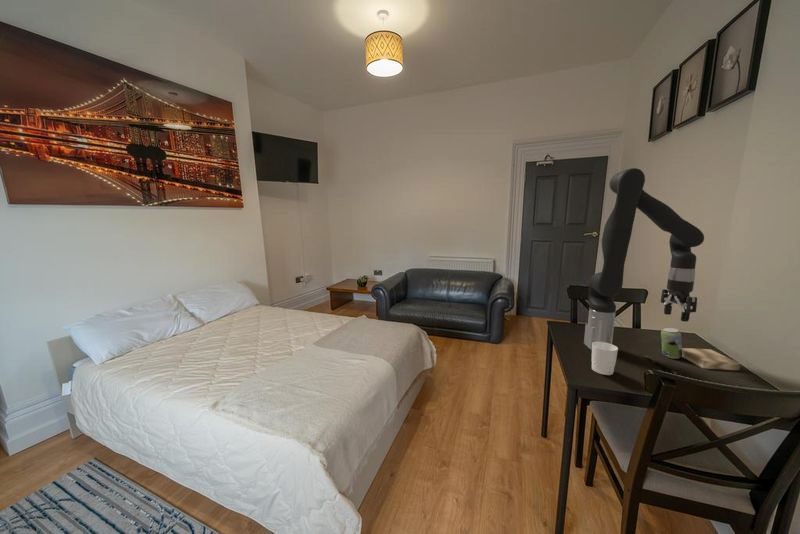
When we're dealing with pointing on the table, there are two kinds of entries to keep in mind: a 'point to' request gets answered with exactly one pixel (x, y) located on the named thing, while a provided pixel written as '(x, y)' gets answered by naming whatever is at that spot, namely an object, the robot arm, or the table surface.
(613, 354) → the white cup
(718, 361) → the base
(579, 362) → the table surface
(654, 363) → the fountain pen
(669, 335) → the beverage can
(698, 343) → the table surface
